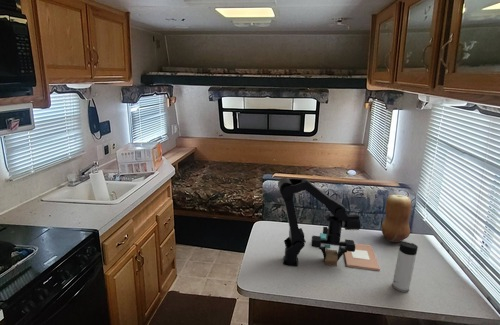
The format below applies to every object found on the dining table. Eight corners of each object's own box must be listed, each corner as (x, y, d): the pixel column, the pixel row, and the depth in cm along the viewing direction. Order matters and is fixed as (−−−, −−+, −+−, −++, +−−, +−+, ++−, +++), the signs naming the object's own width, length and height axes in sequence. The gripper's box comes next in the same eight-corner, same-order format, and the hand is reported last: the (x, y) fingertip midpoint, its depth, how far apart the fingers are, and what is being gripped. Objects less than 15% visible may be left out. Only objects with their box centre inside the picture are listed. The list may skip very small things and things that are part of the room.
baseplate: (379, 270, 139) (380, 268, 139) (346, 266, 141) (347, 264, 141) (371, 247, 158) (371, 245, 158) (342, 243, 160) (342, 241, 160)
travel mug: (391, 289, 127) (399, 245, 122) (392, 280, 133) (401, 237, 128) (408, 294, 125) (418, 249, 119) (409, 285, 130) (418, 242, 125)
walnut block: (336, 266, 142) (337, 256, 140) (325, 264, 142) (326, 254, 141) (335, 259, 146) (336, 250, 145) (324, 258, 147) (325, 248, 146)
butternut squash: (388, 231, 175) (395, 189, 168) (412, 242, 165) (421, 197, 158) (374, 238, 167) (381, 194, 160) (398, 250, 157) (407, 203, 150)
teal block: (329, 248, 156) (330, 239, 155) (319, 246, 157) (320, 237, 156) (329, 243, 161) (330, 234, 160) (319, 241, 162) (320, 233, 160)
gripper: (354, 223, 146) (349, 253, 150) (312, 218, 149) (309, 248, 153) (357, 234, 136) (352, 266, 140) (313, 229, 138) (310, 261, 143)
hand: (330, 260), depth 144 cm, fingers open, 5 cm apart
